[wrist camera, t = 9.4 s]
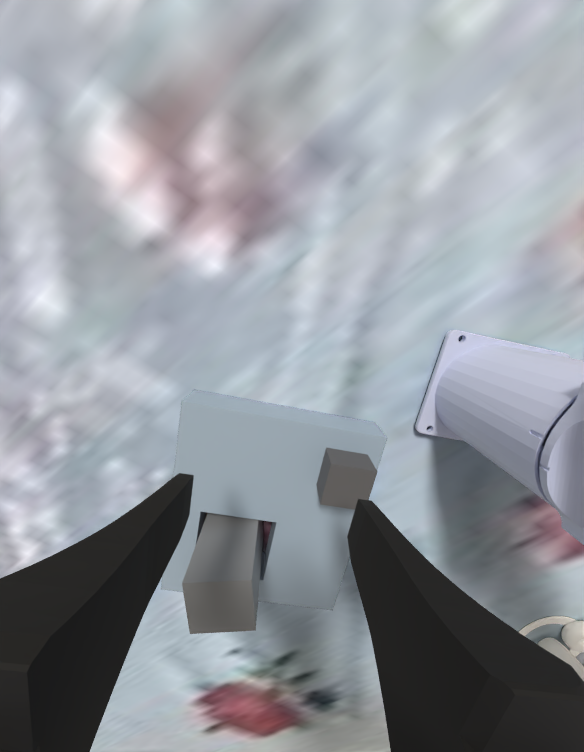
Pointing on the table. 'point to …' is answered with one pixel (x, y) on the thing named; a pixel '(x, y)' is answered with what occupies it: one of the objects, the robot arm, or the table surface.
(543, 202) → the table surface
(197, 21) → the table surface
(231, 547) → the grey rectangular block
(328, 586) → the socket plate
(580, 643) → the white ring and cylinders
